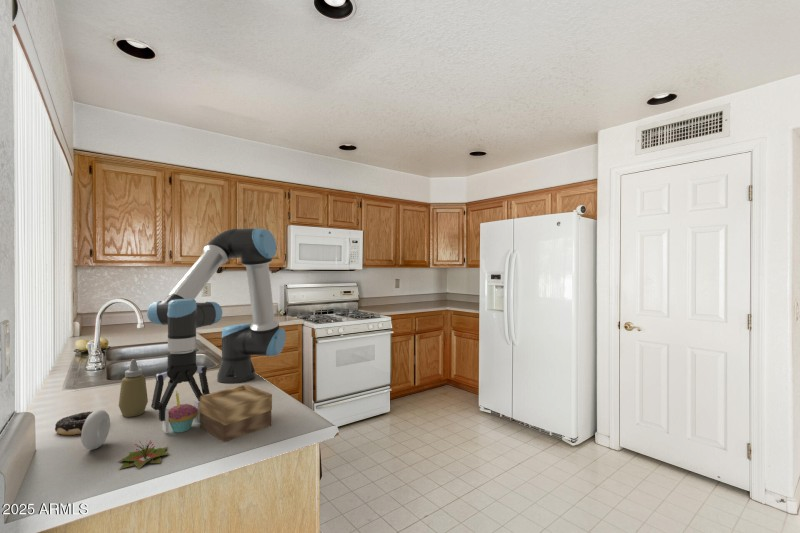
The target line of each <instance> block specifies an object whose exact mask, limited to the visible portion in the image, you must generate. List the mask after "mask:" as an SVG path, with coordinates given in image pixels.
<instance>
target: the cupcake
mask: <svg viewBox="0 0 800 533" xmlns="http://www.w3.org/2000/svg"><path fill="white" fill-rule="evenodd" d="M175 397H176V405H175V406H173V407H171V408H170V409H168V410H169V424H170V427H171V430H172V432H174V433H183V432H188V431H189V430H190V429H191V428H192V424H193V422H194V418H195V417H196V416H197V414H198V412H197V409H196V407H194V405H192V404H188V403H183V404H181V403H180V397H179V393H178V391H177V390H176V391H175Z"/></svg>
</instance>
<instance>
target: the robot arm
mask: <svg viewBox="0 0 800 533" xmlns="http://www.w3.org/2000/svg"><path fill="white" fill-rule="evenodd" d="M276 253H277V242H276V239H275V237H274V235H273V233H272V232H271V231H270V230H268V229H265V228H258V227H257V228H230V229H227V230H224V231H223V232H220V233H219V234H217V235H216V236H215V237H213V238H212V239H211V240H210V241H209V242H208V243H207V244H206V245H205V246H204V247H203V249H202V254H201V255H200V256H199V258H198V259H197V260H196V261H195V262H194V264H193V265H192V266H191V267H190V268H189V270H187V272H186V273H185V274H184V276H183V277H182V278H181V279H180V280H179V281H178V282H177V284H176V285H175V286H174V287H173V289H172V290H171V291H170V292H169V293H168V294H167V296H166V297H165V298H164V299H163V300H158V301H154V302H151V303H150V305H149V306H148V308H147V313H146V315H147V318H148V320H149V322H150V323H152V324H155V325H162V326H167V351H168V353H167V369H166V370H165V372H164V371H163V372H162V373H155V375H154V377H155V385H154V391H153V394H152V395H153V396H152V400H151V405H150V406H151V408H152V409H153V410H155V411H158V420H159V421H160V422H162V424H161V429H162V432H164V433H165V434H167V433H169V424H170V423H169V410H170V409H169V408H167V406H168V404H169V402H170V400H171V398H172V395H173V393H174V390H175V388H176V387H177V386H178V384H181V383H184V382H185V383H188V384H189V386H190V388H191V389H192V392H193V393H194V396H195V397H196V399H194V400H193V404H194V405H193V406H194V407H196V409H197V412H198V414H197V416H196V417H195V418H194V420H193V422H195V423H197V424H200V396H202V395H206V394H210V388H209V383H208V378H207V371H208V368H207V366H205V365H197V351H196V349H197V328H202V327H207V326H212V325H214V324H216V323H217V324H218V323H219V322H220V320H221V319H222V317H223V309H222V307H221V305H220V304H219V302H215V301H205V302H197V301H196V300H195V299H196V298H197V297H198V296H199V294H200V293H201V291H203V289H204V288H205V286H206V284H208V282H209V281H210V280H211V278H212V277H213V276H214V274H215V273H216V272H217V270H218V269H219V268H220V267H221V265H224V264H226V263H227V262H228V260H230V259H233V258H235V259H236V258H238V259H240V260H241V261H240V262H241V265H242V266H244V267H245V268H246V276H247V277H246V278H247V284H248V293H249V299H250V307H251V309H250V310H251V316H252V323H249V322H245V323H238V324H237V323H236V324H231V325H227V326H225V327H223V329H222V331H221V363H220V366H219V368H218V371H217V375H216V380H217V382H219V383H223V384H237V383H243V382H249V381H251V380H253V379H254V378H256V371H255V368H254V365H253V361H252V356H263V357H264V356H265V357H275V356H278V355H279V354H281V353H282V351H283V350H284V347H285V344H286V337H287V333H286V330H285V329H284V328H282V327H280V323H279V321H278V320H277V319H276V318H275V312H274V302H273V292H272V284H271V273H270V266H269V265H270V264H271V263H272V262H273V258H274V257H275V256H276ZM196 372H197V373H198V377H199V383H200V386H199V385H198V384H197V382H196V381H197V380H196V379H195V377H194V375H195V373H196ZM166 377H168V379H169V380H168V383H167V387H166V388H165V391H164V393H163V390H164V389H163V388H164V382H165V381H166ZM199 387H200V388H201V389H200V388H199ZM162 393H163V395H162Z"/></svg>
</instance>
